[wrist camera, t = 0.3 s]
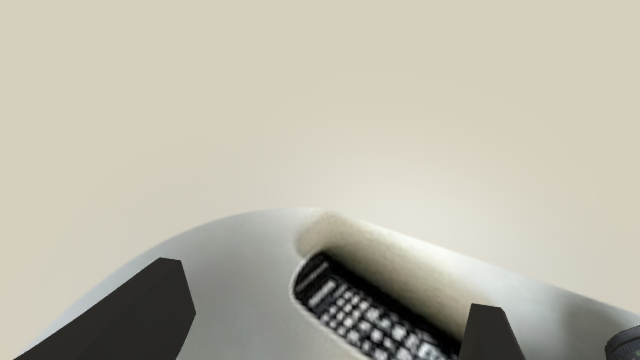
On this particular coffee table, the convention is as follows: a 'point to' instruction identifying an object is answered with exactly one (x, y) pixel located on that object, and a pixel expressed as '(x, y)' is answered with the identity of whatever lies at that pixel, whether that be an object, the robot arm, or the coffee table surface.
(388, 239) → the coffee table surface
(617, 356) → the camera
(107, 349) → the robot arm
